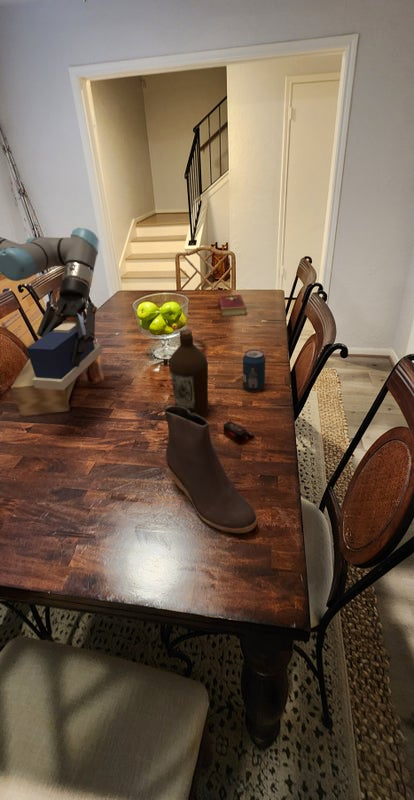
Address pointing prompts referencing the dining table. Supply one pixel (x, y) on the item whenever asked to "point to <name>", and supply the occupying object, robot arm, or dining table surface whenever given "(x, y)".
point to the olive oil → (189, 376)
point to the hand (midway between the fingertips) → (59, 364)
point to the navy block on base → (59, 357)
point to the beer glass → (95, 370)
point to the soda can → (253, 370)
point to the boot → (204, 473)
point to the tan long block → (38, 395)
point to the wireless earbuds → (236, 432)
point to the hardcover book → (232, 305)
